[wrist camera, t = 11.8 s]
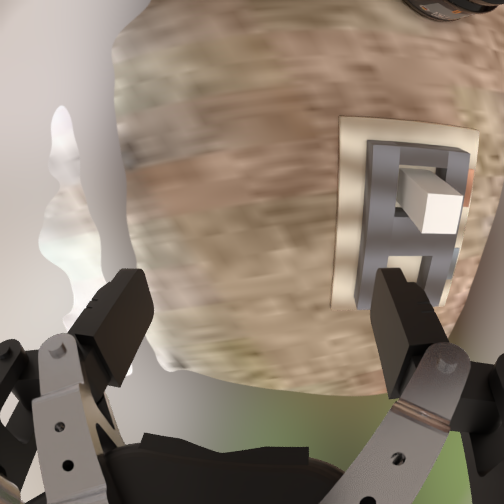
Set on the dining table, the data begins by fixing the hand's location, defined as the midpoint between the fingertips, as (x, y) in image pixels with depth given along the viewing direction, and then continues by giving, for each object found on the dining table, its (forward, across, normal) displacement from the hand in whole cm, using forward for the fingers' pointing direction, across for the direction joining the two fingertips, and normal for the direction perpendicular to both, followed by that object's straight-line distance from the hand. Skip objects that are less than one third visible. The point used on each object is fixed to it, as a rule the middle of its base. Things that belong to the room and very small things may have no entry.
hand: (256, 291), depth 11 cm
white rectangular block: (+27, -16, +5) cm, 31 cm away
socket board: (+28, -16, +10) cm, 34 cm away
